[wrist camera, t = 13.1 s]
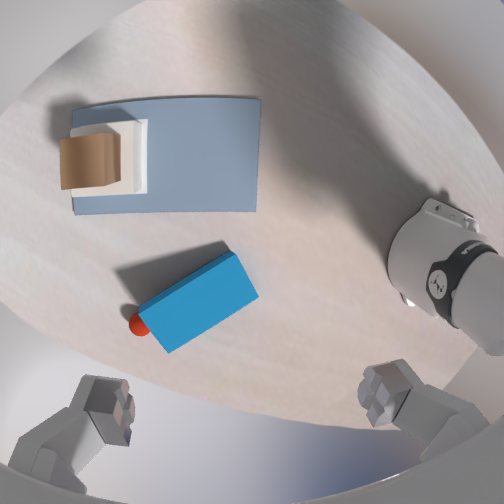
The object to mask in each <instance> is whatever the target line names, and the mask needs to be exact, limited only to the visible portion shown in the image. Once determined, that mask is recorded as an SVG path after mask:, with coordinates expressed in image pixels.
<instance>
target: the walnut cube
mask: <svg viewBox="0 0 504 504" xmlns="http://www.w3.org/2000/svg"><path fill="white" fill-rule="evenodd" d="M60 175H61V190H65V189H76V188H88V187H101V186H107V185H110V184H112V183H115V182H118V181H121V135H116V134H108V133H100V134H92V135H85V136H78V137H72V138H66V139H60Z"/></svg>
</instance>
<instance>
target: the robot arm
mask: <svg viewBox="0 0 504 504" xmlns="http://www.w3.org/2000/svg"><path fill="white" fill-rule="evenodd" d="M388 274H389V278H390V280H391V282H392V284H393V286H394V287H395V288H396V289H397V290H398V291H399V292H400V293H401V294H402V296H403V299H404V302H405V304H406V305H408V306H409V307H413V306H415V305H417V306H418V307H419V308H421V309H422V310H424V311H425V312H426V313H428V314H429V315H431V316H432V317H434V318H438V317H442V319H444V321H445V322H446V323H448V324H449V325H451V326H453V327H454V328H457V329H461V330H462V331H463V332H464V333H465V334H466V335H467V336H469V337H470V338H471V339H472V340H473V341H474V342H475V343H476V344H477V345H478V346H479V347H481V348H482V349H483V350H484V351H485V352H486V353H487V354H489V355H491V356H503V355H504V257H502V256H500V255H498V253H497V252H496V251H495V250H494V249H493V248H492V247H491V246H490V244H489V240H488V238H487V237H486V236H484V235H482V234H480V233H479V222H478V221H477V220H476V219H474V218H472V217H470V216H468V215H466V214H464V213H462V212H460V211H458V210H456V209H454V208H452V207H450V206H448V205H446V204H443V203H441V202H439V201H437V200H435V199H432V198H429V199H428V200H426V202H425V203H424V204H423V206H422V208H421V209H420V211H419V212H418V213H417V214H416V215H414V216H413V217H411V218H410V219H409V220H408V221H407V222H406V223H405V224H404V225H403V226H402V227H401V228H400V230H399V231H398V233H397V235H396V236H395V238H394V240H393V243H392V245H391V248H390V252H389V257H388ZM363 375H364V377H365V379H364V380H363V381H362V382H361V383H360V384H359V387H358V399H359V402H360V404H361V406H362V407H364V408H365V409H367V410H368V411H367V414H366V415H367V417H368V419H369V421H370V423H371V425H372V426H373V428H374V427H378V426H382V425H385V424H389V423H392V422H393V423H392V424H394V425H395V426H397V427H398V428H400V429H401V430H403V431H405V432H406V433H407V434H409V435H410V436H412V437H413V438H415V439H416V440H418V441H419V442H421V443H422V444H424V445H426V446H427V448H426V449H425V451H424V452H423V453H422V454H421V456H420V459H421V461H422V464H420V465H418V466H415V467H413V468H411V469H408V470H406V471H404V472H401V473H399V474H396V475H394V476H391V477H389V478H386V479H383V480H380V481H378V482H375V483H372V484H369V485H366V486H363V487H360V488H356V489H353V490H350V491H346V492H343V493H339V494H335V495H331V496H327V497H323V498H319V499H313V500H309V501H303V502H298V503H292V504H504V415H503V416H501V417H500V418H499V419H498V420H496V421H495V422H493V423H492V424H490V423H489V422H488V421H487V419H486V418H485V417H484V416H483V414H482V413H481V412H480V411H479V410H478V408H477V407H476V406H475V405H474V404H472V403H470V402H468V401H465V400H463V399H461V398H458V397H456V396H454V395H451V394H449V393H447V392H445V391H442V390H440V389H438V388H435V387H433V386H431V385H429V384H426V385H424V383H423V382H422V381H421V380H420V378H419V377H418V376H417V375H416V373H415V372H414V371H413V370H412V368H411V367H410V366H409V365H408V364H407V362H406V361H405V360H403V359H398V360H394V361H391V362H386V363H381V364H377V365H372V366H368V367H367V368H366V369H365V370H364V373H363ZM128 391H129V385H128V382H127V380H125V379H117V378H109V377H101V376H93V375H87V374H85V375H84V376H83V377H82V378H81V381H80V383H79V385H78V388H77V390H76V392H75V394H74V397H73V399H72V401H71V404H70V406H69V408H67V407H65V408H63V409H62V410H60V411H59V412H57V413H56V414H54V415H53V416H51V417H50V418H48V419H47V420H45V421H44V422H43V423H41V424H39V425H38V426H36V427H35V428H33V429H32V430H30V431H29V432H27V433H26V434H24V435H23V436H21V437H20V438H19V439H18V442H17V444H16V447H15V449H14V451H13V454H12V456H11V458H10V461H9V463H8V466H6V465H4V464H2V463H0V504H126V503H120V502H115V501H110V500H106V499H101V498H96V497H93V496H89V495H86V492H87V487H86V486H85V485H84V484H83V483H82V482H81V481H80V480H79V478H77V476H76V475H77V474H78V473H79V472H80V471H81V470H82V469H83V468H84V467H85V466H86V465H87V464H88V463H89V462H90V461H91V460H92V459H93V458H94V456H96V455H97V454H98V453H99V452H100V451H101V449H102V448H103V447H104V446H105V445H106V444H112V445H119V446H129V443H130V438H131V433H132V431H131V429H130V426H129V425H130V424H131V423H133V422H134V417H135V404H134V400H133V397H132V396H131V395H130V394H129V393H128Z"/></svg>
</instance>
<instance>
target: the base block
mask: <svg viewBox="0 0 504 504" xmlns="http://www.w3.org/2000/svg"><path fill="white" fill-rule="evenodd" d="M142 130H143V124H142V123H139V122H136V121H125V122H116V123H107V124H99V125H92V126H85V127H79V128H73V129H70V138H72V137H78V136H85V135H92V134H100V133H108V134H116V135H121V181H118V182H115V183H112V184H110V185H107V186H101V187H88V188H76V189H71V196H72V197H83V196H98V195H114V194H134V193H136V192H137V191H139V190H141V189H142Z"/></svg>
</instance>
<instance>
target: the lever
mask: <svg viewBox="0 0 504 504" xmlns="http://www.w3.org/2000/svg"><path fill="white" fill-rule="evenodd" d="M258 297H259V296H258V294H257V293H256V291H255V289H254V287H253V285H252V283H251V281H250V279H249V278H248V276H247V274H246V272H245V270H244V268H243V266H242V265H241V263H240V261H239V259H238V257H237V255H236V254H235V253H233V252H232V251H229V252H227V253H225V254H223V255H221V256H220V257H218V258H216V259H215V260H213V261H211V262H210V263H208V264H207V265H205V266H203V267H202V268H200V269H198V270H197V271H195V272H194V273H192V274H190V275H189V276H187V277H185V278H184V279H182V280H181V281H179V282H177V283H176V284H174V285H172V286H171V287H169V288H168V289H166V290H164V291H163V292H161V293H160V294H158V295H156V296H155V297H153V298H152V299H150V300H148V301H147V302H145V303H144V304H142V305H140V306H139V307H138V313H137V314H134V315H133V316H132V317H131V318H130V321H129V328H130V330H131V332H132V333H133V334H135V335H136V336H145V335H147V334H148V333H149V332H150V331H151V332H152V334H153V335H154V336H155V338H156V339H157V340H158V341H159V343H160V344H161V345H162V346H163V348H164V349H165V350H166V351H167V353H170V352H172V351H174V350H175V349H177V348H179V347H180V346H182V345H184V344H185V343H187V342H189V341H190V340H192V339H193V338H195V337H197V336H198V335H200V334H202V333H203V332H205V331H206V330H208V329H210V328H211V327H213V326H214V325H216V324H218V323H219V322H221V321H222V320H224V319H225V318H227V317H229V316H230V315H232V314H233V313H235V312H236V311H238V310H240V309H241V308H243V307H244V306H246V305H247V304H249V303H250V302H252V301H254V300H255V299H257V298H258Z"/></svg>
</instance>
